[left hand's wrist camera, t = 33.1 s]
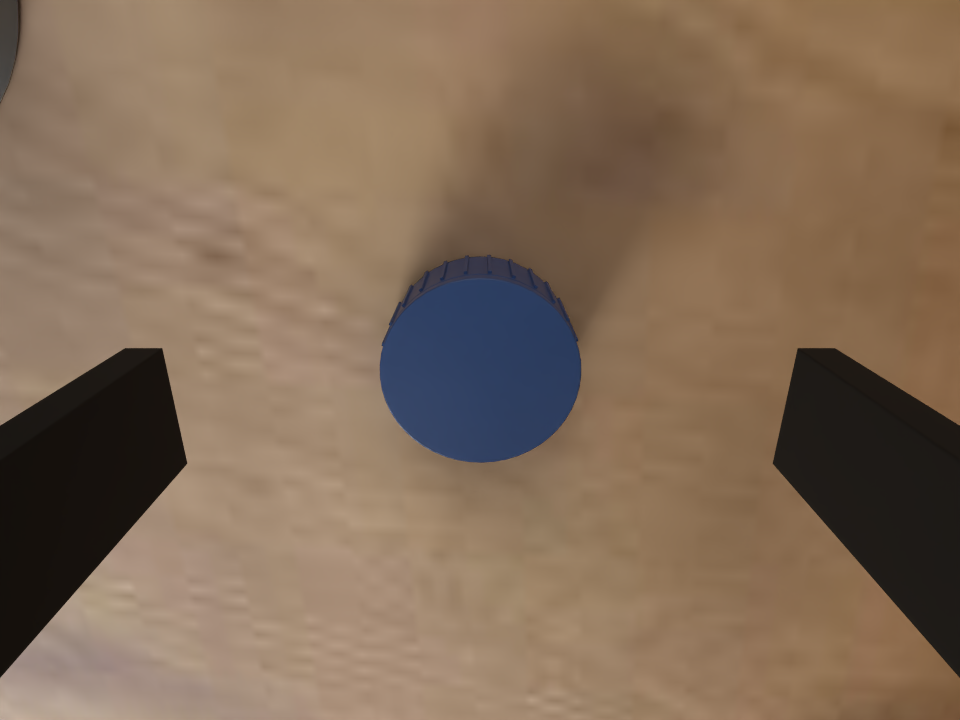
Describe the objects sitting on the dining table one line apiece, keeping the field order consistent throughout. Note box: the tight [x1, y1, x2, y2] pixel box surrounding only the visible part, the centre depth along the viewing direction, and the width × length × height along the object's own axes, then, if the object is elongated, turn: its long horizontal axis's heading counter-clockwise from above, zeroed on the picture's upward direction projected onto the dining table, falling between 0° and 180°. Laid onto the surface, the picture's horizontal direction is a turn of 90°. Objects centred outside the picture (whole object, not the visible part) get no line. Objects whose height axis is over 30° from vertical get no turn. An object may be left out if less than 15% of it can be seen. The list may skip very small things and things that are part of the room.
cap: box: [380, 255, 581, 463], centre depth 14 cm, size 5×5×2 cm
